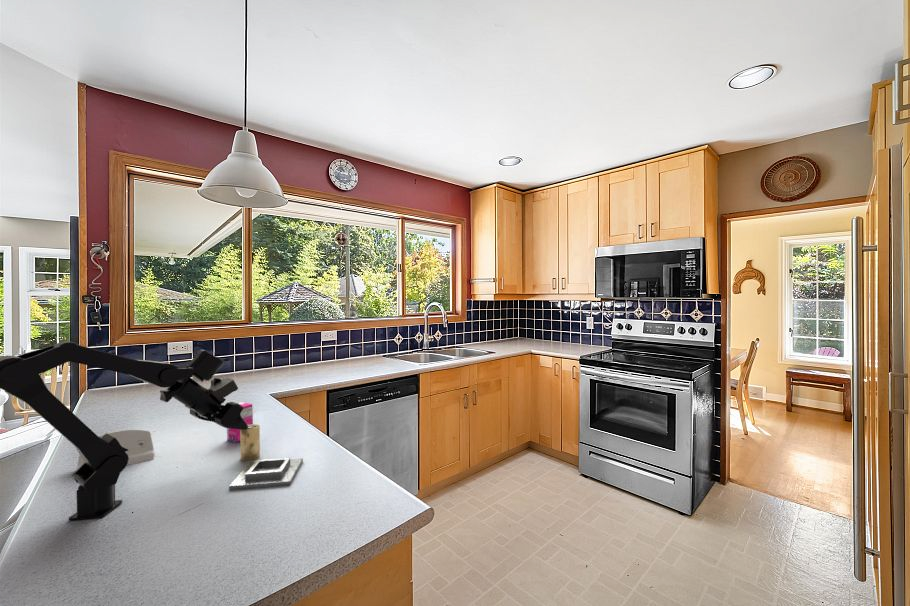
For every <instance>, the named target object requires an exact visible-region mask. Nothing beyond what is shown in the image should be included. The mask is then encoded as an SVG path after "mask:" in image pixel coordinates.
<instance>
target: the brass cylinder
mask: <svg viewBox="0 0 910 606" xmlns="http://www.w3.org/2000/svg"><path fill="white" fill-rule="evenodd" d="M247 426H248V428H247V429H246V430H240V442H239V443H240V461H241V462H253V461H255V460H259V458H260V457H261V445H260V444H261V443H260V442H261V440H260V437H261V435H260V434H261V433H260V424H254V423H253V424H252V425H247Z"/></svg>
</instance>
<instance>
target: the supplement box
mask: <svg viewBox="0 0 910 606" xmlns="http://www.w3.org/2000/svg"><path fill="white" fill-rule="evenodd" d="M237 403H238V404H240V405H241V406H242V407H243V410H242V412H241V414H240V415H241V417H242V419H243V420H244V421H245V423H246V424H247V425H252V424H254V420H253V418H254V417H253V416H254V415H253V414H254V413H253V404H252V403H248V402H243V401H240V402H237ZM226 440H227V441H230V442H234V443H237V444H238V443H240V429H231V428H226Z"/></svg>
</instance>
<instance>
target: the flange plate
mask: <svg viewBox="0 0 910 606" xmlns="http://www.w3.org/2000/svg"><path fill="white" fill-rule="evenodd" d="M303 463H304V458H293V459H291V457H283V458H282V457H281V458H269V459H268V458H267V459H256V461H249V463H248V464H247V466H246V467H245V468H243V470H242V471H240V473H239V474H238V476H236V478H235V479H234V480H233V481H232V482H231V483H230V484H229V486H228V491H237V490H248V489H251V490H252V489H260V488H261V489H262V488H273V487H286V486H291V484H292V483H293V481H294V478H295V477H296V475H297V474H298V471H299V470H300V468H301V466H302V465H303Z"/></svg>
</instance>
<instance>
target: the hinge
mask: <svg viewBox="0 0 910 606" xmlns="http://www.w3.org/2000/svg"><path fill="white" fill-rule="evenodd" d="M105 434H106V433H105ZM105 434H104V433H103V434H100V435H97V436H98V437H100V438H102V437H103V436H104V435H105ZM108 434H109V435H111V436H113V437H115V438H116V439H117V440H118V442H119V443H120V445H121V446H123V447H125V448H127V449H128V451H125V453H127V455H128V457H129V460H128V464H127V465H128V466H129V465H133V464H138V463H143V462H148V461H153V460H155V459H154V458H155V454H156V452H155V447H154V442H153V437H152V433H151V431H149V430H145V429H124V430H117V431H111V432H108ZM84 463H85V462H84V461H83V459H82V458H81V456H80V454H79V457H78V462H77V467H76V471H77V470H78V469H79V468H80V467H81V466H82V465H83V464H84ZM127 465H126V466H127Z"/></svg>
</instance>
